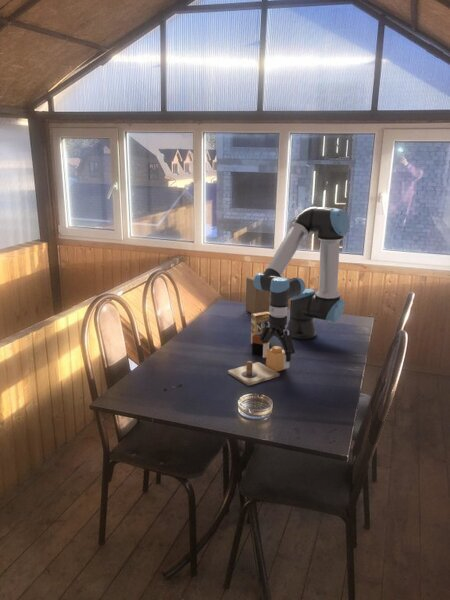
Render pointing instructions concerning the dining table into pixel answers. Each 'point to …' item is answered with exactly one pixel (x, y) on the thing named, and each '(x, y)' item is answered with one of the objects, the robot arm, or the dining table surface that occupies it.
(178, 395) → the dining table surface
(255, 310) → the wooden block
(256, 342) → the battery
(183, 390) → the dining table surface
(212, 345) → the dining table surface
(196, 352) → the dining table surface
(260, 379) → the birch board
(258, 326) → the candy box
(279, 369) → the tan toy brick
